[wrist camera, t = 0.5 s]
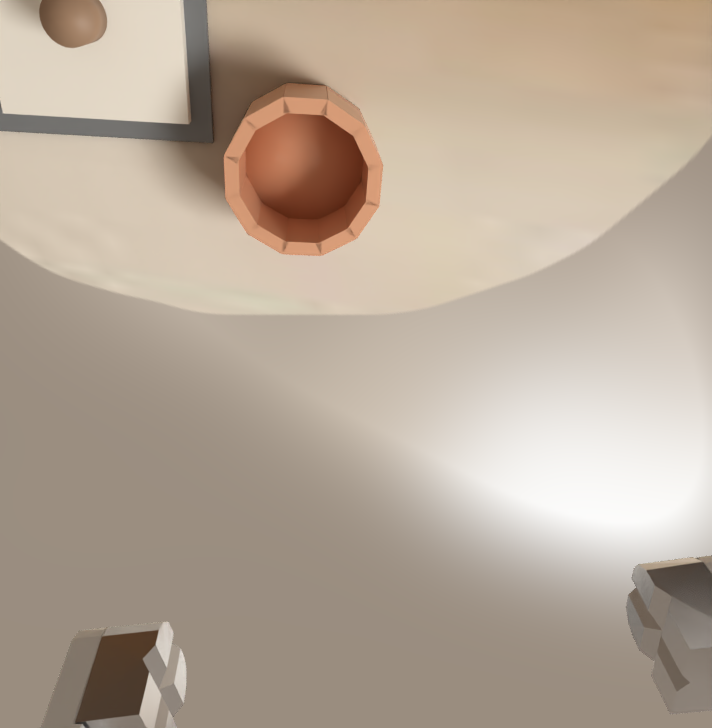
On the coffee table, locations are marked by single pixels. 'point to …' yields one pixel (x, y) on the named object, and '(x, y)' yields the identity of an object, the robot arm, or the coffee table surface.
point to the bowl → (303, 170)
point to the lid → (95, 59)
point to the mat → (192, 132)
